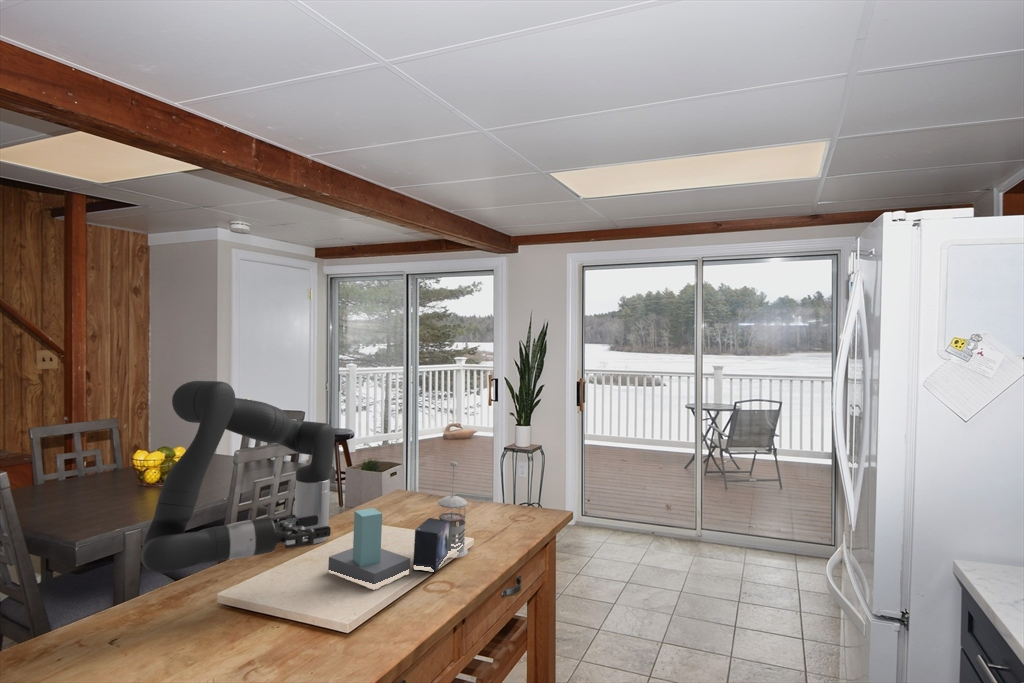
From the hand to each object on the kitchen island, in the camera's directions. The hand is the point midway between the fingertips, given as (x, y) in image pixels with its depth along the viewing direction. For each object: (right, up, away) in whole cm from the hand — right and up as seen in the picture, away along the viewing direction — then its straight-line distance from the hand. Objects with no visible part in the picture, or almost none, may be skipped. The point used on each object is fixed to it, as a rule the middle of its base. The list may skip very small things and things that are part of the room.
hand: (323, 525), depth 138 cm
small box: (+23, -15, +16) cm, 32 cm away
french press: (+27, -15, +27) cm, 41 cm away
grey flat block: (+8, -15, +9) cm, 19 cm away
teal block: (+8, -11, +7) cm, 15 cm away
